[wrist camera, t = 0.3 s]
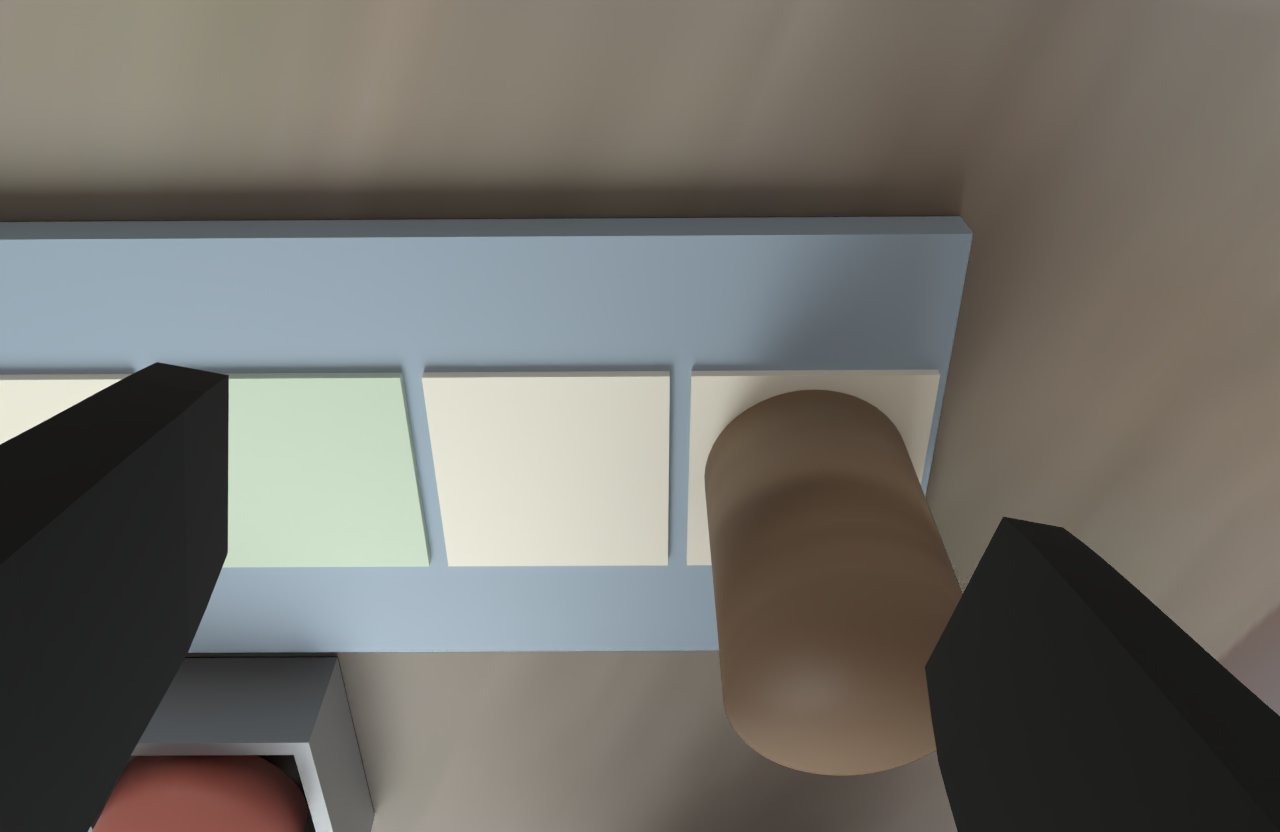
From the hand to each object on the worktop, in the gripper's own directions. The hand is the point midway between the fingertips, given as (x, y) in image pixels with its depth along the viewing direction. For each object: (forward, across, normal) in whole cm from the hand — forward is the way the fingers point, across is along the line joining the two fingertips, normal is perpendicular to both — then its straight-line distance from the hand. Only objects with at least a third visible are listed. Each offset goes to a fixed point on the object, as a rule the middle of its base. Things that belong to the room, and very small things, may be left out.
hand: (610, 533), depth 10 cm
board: (+10, +3, +6) cm, 12 cm away
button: (+8, +7, +17) cm, 20 cm away
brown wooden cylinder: (+9, -5, +5) cm, 11 cm away
